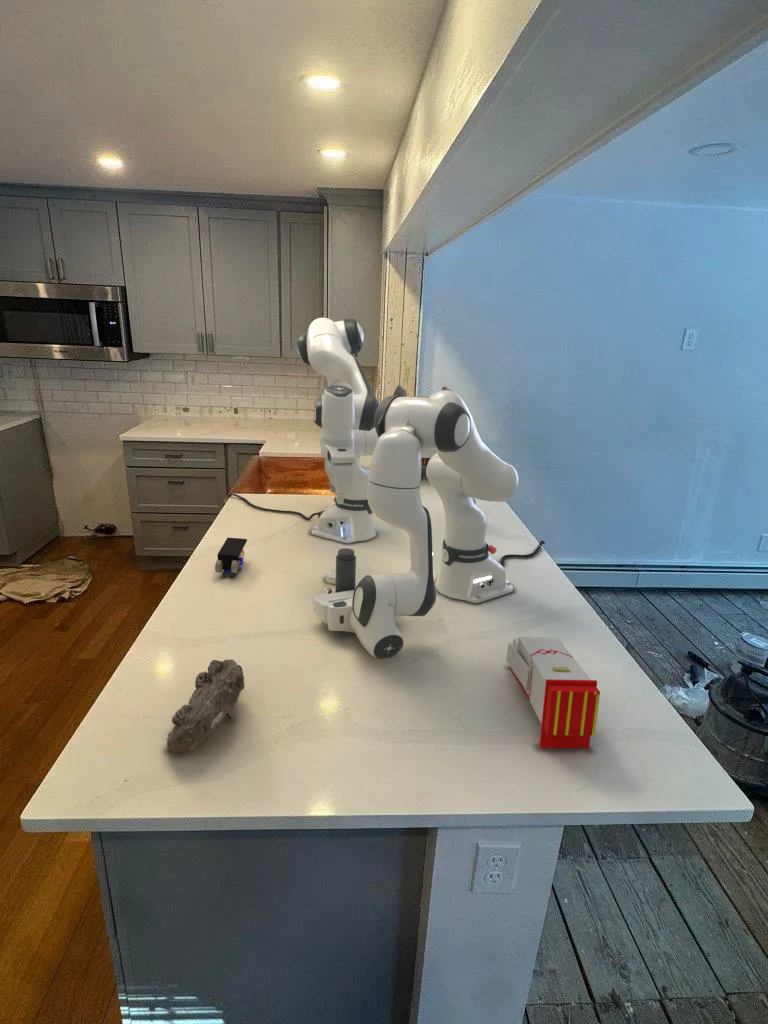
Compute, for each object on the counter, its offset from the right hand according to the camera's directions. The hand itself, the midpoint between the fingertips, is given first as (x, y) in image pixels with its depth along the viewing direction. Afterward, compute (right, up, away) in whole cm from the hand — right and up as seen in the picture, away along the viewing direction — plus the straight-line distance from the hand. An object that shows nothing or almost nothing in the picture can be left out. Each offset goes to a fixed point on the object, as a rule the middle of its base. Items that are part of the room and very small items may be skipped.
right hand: (344, 587), depth 148 cm
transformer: (+28, +39, +127) cm, 135 cm away
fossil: (-22, -19, -40) cm, 50 cm away
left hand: (-3, +24, +8) cm, 25 cm away
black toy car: (-34, +3, +19) cm, 40 cm away
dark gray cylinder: (0, -5, +1) cm, 5 cm away
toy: (+43, -19, -32) cm, 57 cm away
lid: (-4, +2, +16) cm, 16 cm away
